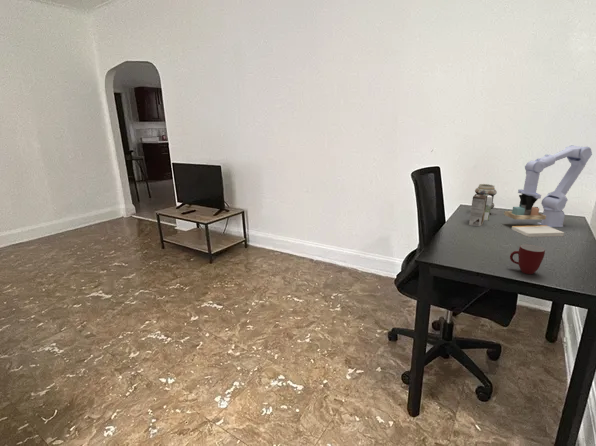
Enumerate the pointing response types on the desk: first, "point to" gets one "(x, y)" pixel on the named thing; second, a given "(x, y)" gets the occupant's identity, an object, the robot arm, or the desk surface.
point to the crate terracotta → (534, 211)
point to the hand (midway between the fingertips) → (526, 208)
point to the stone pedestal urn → (486, 191)
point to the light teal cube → (518, 211)
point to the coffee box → (478, 209)
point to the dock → (538, 231)
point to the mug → (529, 258)
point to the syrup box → (488, 207)
